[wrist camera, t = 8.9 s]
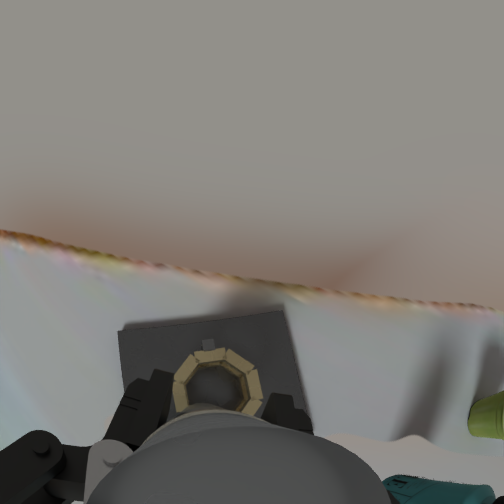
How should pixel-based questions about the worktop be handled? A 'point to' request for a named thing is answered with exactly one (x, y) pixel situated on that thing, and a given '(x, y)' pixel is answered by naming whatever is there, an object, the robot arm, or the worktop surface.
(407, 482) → the beverage bottle
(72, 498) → the robot arm
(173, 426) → the glossy dome-topped cylinder
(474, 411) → the plant pot
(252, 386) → the dark square plate
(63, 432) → the worktop surface
